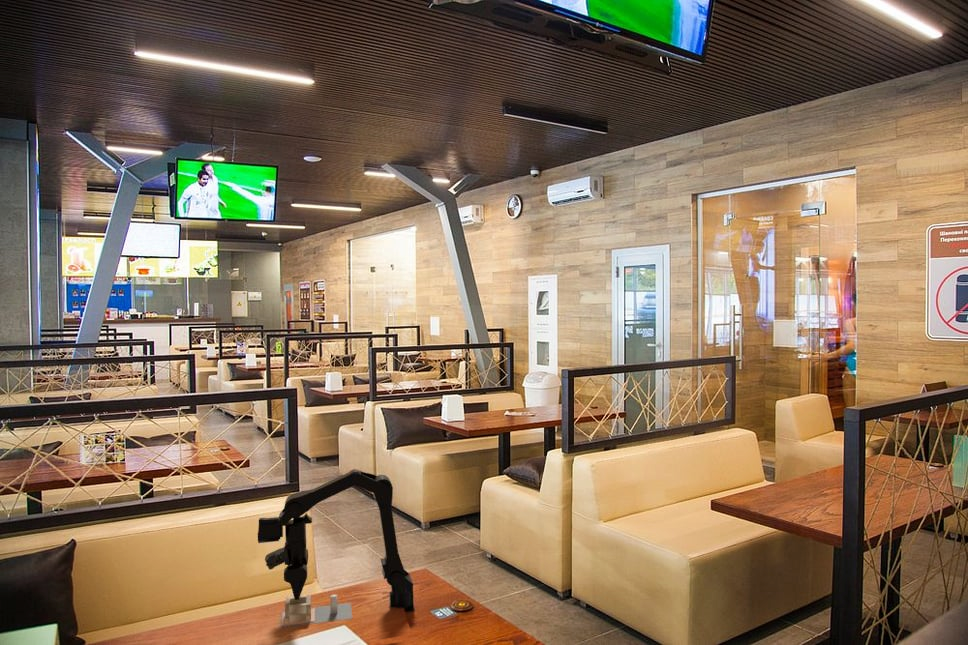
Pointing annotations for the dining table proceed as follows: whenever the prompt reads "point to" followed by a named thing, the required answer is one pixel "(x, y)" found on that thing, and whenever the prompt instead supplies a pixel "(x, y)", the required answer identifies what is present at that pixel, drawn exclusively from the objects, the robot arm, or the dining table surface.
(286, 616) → the beige square hollow block
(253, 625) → the dining table surface
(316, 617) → the stand board
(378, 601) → the dining table surface
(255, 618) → the dining table surface
